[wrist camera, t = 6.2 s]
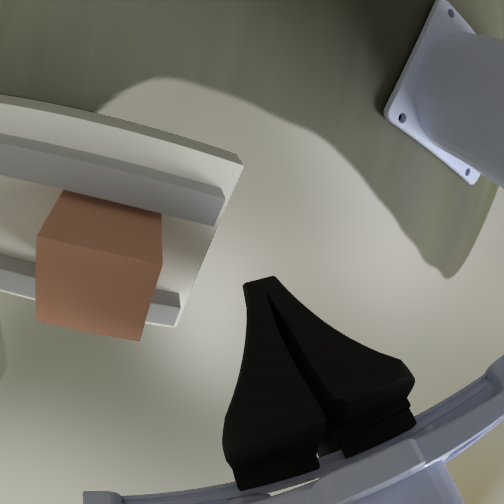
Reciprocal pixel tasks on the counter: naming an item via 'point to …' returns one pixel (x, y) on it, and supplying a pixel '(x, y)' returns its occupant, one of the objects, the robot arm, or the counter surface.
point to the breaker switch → (97, 265)
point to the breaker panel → (108, 189)
